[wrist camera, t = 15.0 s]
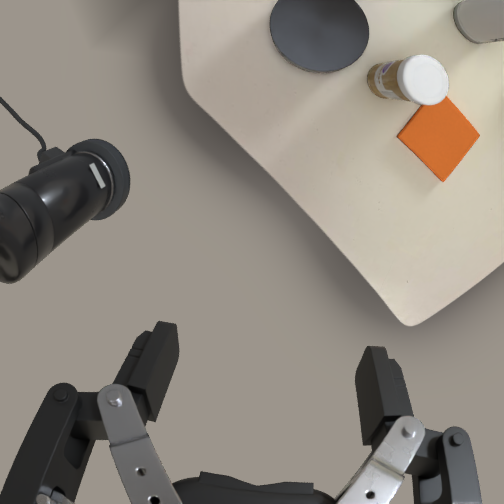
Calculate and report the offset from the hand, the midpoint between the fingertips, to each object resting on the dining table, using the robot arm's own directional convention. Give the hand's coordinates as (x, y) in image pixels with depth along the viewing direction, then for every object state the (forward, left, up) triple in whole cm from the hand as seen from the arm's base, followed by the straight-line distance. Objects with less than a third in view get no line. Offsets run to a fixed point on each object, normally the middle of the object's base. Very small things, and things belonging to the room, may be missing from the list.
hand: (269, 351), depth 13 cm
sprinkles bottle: (+3, +17, -30) cm, 35 cm away
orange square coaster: (+13, +17, -30) cm, 37 cm away
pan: (-7, +21, -30) cm, 37 cm away
